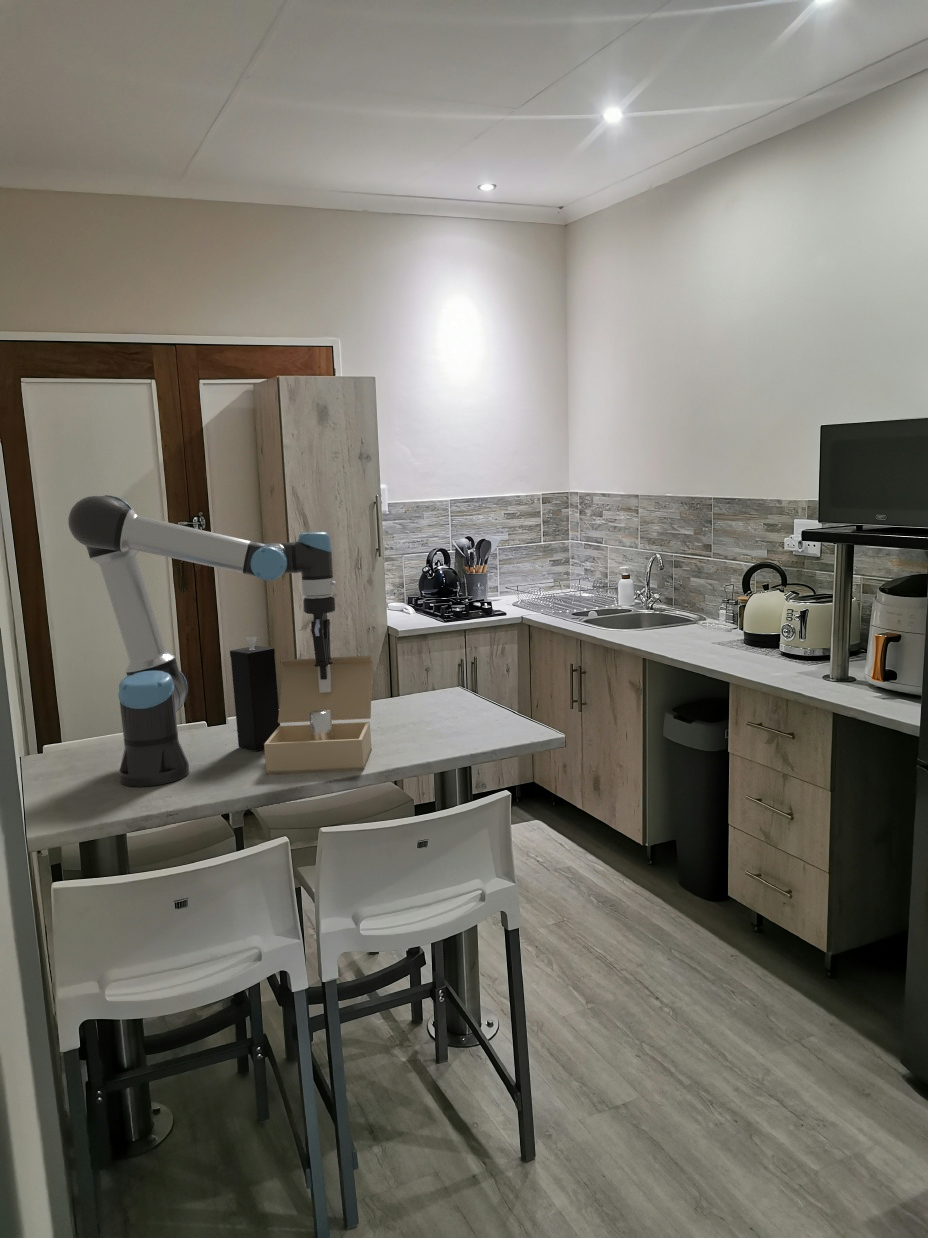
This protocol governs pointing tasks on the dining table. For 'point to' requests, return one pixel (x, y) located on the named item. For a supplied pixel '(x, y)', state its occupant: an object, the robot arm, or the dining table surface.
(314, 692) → the lid
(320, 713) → the tin
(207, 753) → the dining table surface
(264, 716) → the black pedestal
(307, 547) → the robot arm
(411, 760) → the dining table surface
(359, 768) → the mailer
